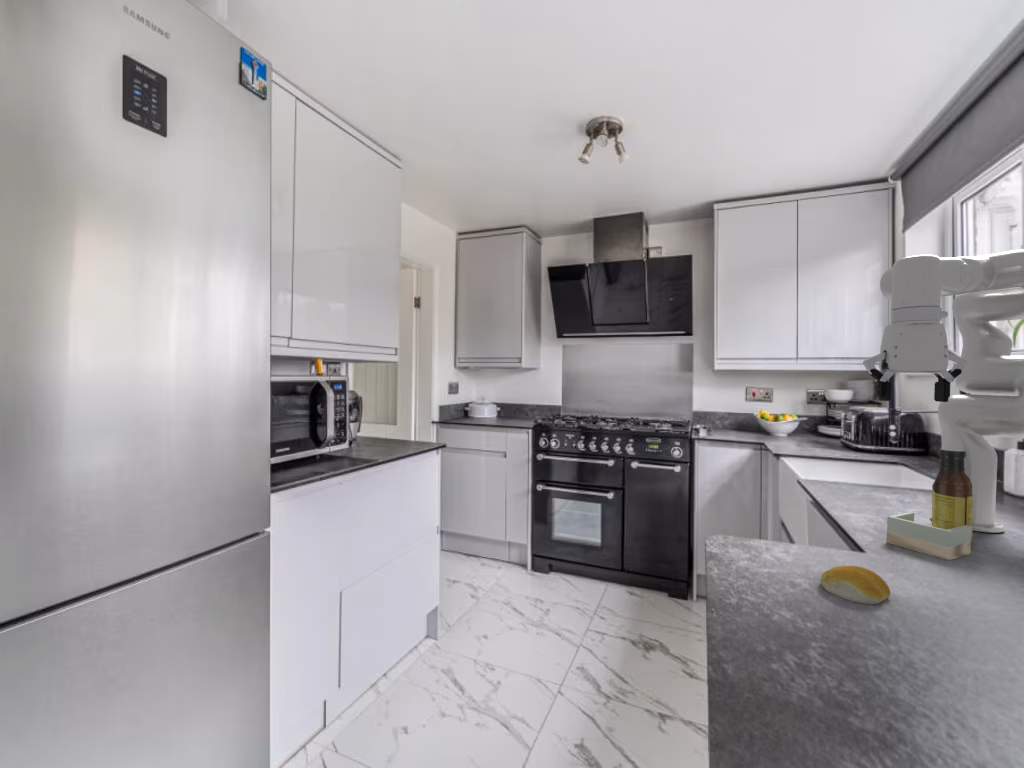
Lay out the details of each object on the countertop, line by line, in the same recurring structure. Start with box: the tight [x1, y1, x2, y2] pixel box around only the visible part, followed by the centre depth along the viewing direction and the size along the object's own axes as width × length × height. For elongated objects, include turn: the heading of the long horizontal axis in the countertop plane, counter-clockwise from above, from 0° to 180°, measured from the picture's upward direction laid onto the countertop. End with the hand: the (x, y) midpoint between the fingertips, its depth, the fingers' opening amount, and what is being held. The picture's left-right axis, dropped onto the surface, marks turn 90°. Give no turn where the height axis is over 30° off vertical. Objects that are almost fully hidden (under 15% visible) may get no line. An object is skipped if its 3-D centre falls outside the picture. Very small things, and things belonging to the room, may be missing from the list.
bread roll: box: [819, 565, 891, 605], centre depth 71 cm, size 8×9×4 cm
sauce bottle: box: [931, 447, 974, 544], centre depth 96 cm, size 7×6×20 cm
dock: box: [886, 511, 972, 561], centre depth 91 cm, size 9×10×6 cm
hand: (912, 401), depth 92 cm, fingers open, 9 cm apart
